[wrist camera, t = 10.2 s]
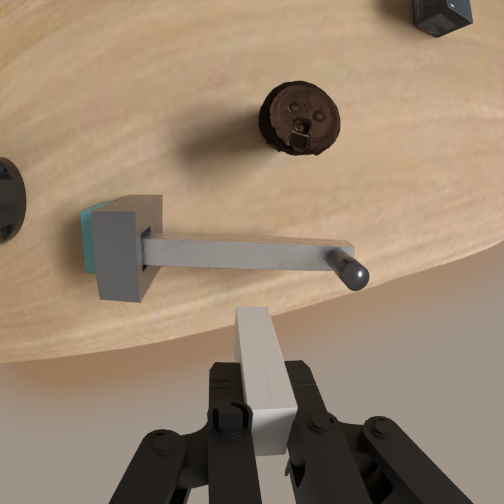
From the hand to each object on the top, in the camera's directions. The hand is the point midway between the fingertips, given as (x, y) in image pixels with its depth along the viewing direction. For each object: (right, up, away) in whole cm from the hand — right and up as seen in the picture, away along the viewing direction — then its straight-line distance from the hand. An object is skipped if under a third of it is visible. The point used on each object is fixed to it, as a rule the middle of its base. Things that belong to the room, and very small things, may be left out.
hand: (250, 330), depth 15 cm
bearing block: (-15, +7, +27) cm, 32 cm away
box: (+31, +46, +19) cm, 58 cm away
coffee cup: (+4, +21, +25) cm, 33 cm away
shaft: (-1, +4, +21) cm, 22 cm away
